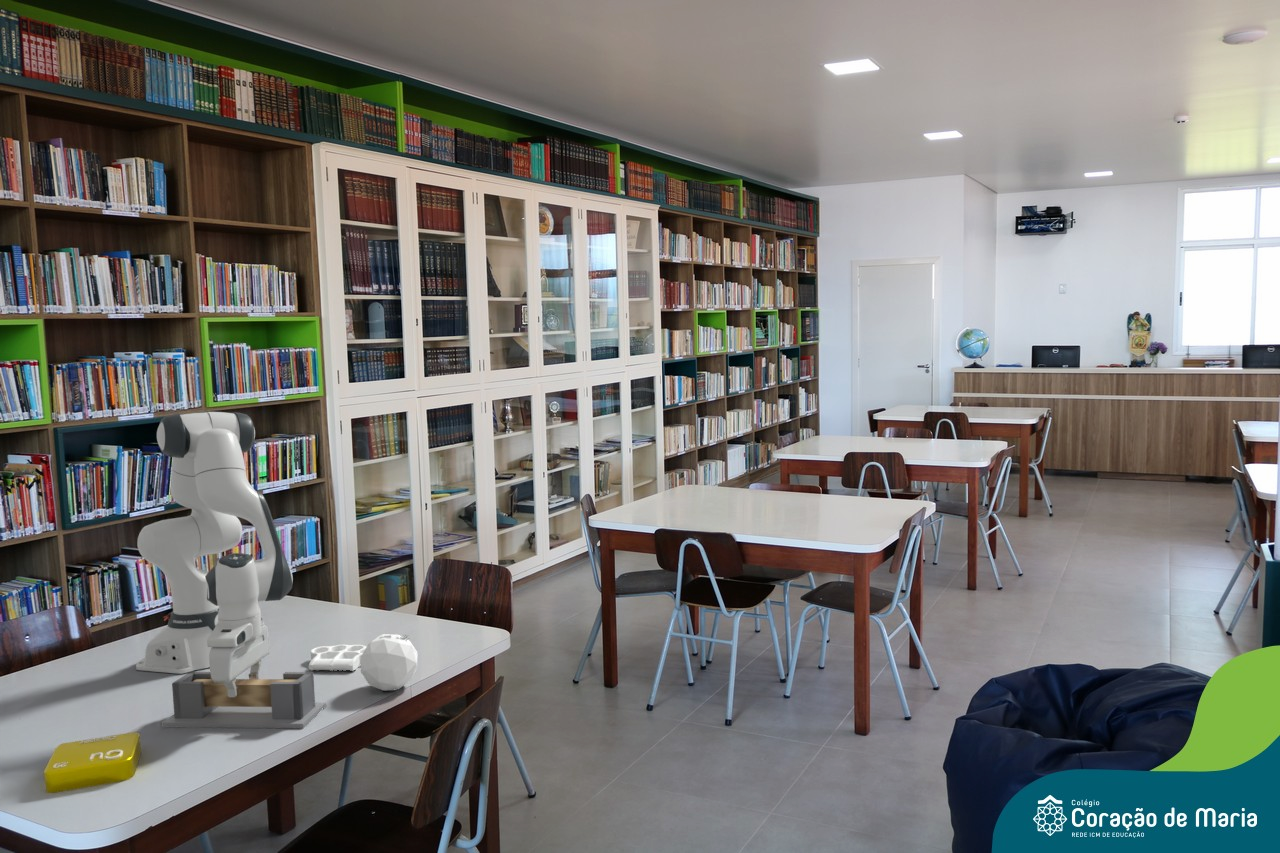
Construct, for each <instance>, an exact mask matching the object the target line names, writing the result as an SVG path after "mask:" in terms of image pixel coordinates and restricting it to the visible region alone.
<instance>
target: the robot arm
mask: <svg viewBox="0 0 1280 853" xmlns="http://www.w3.org/2000/svg"><path fill="white" fill-rule="evenodd" d="M255 429H256V428H255V425H254V422H253V420H252V418H251V417H250V416H249V415H248V414H246V413H243V412H242V413H241V412H223V411H205V412H193V413H184V414H179V413H173V414H170V415H166V416H164V417H162V419H161V420H160V422H159V425H158V427H157V430H156V441H157V443H158V446H159V449H160V451H161V452H162V453H163V454H164V455H165V456H167V457H171V458H172V463H171V479H170V495H171V497H172V500H174V502H176V504H178V505H180V506H183V507H184V508H188V509H190V510H191V513H190V515H187V516H181V517H175V518H167V519H161V520H159V521H155V522H153V523H149V524H147V525H144V527H142V528H141V530H140V531H139V534H138V536H137V542H136V543H137V549H138V552H139V554H140V555H141V557H142V558H143V559H144V560H145V561H146V562H148V563H151V564H153V565H154V566H156V567H157V568H158V569H159V570H160V571H161V572H162V573H163V575H164V576H165V577H166V579H167V581H168V583H169V587H170V594H171V600H172V611H171V612H169V613H167V615H165V616H163V618H164V619H163V621H164V622H166V621H167V620H168V622H167V626H165V627H164V628H163V629H162V630H161V631H160V632H159V633H158V634H156V635H155V636H154V637H153V638H152V639H150V640H149V641H148V643H147V644H146V648H145V654H144V658H142V659H140V660H139V661H138V662H137V663H136V665H135V670H136V671H143V672H144V671H145V672H157V673H168V674H169V673H170V674H179V675H180V674H188V673H189V672H195V671H198V670H204V669H208V668H209V672H210V673H211V678H212V680H213V681H214V682H215V683H224V685H225V687H226V689H227V692H228V697H235V696H237V695H238V694H239V691H238V690H239V688H238V687H236V685H235V682H236V679H237V677H238V676H240V675H241V674H242V673H244V672H245V671H247V670H249V669H250V672H249V673H248V679H260V670H261V667H262V660H263V659H264V658H266V657H267V656H268V655H269V654H270V651H271V642H270V641H271V640H270V634H269V629H268V626H267V625H266V624H265V620H264V619H263V618H262V615H261V611H262V610H261V608H260V605H259V602H263V601H265V602H273V601H276V602H277V601H281V600H283V599H284V598H285V597H286V596H287V595H288V594H289V593H290V591H291V590H292V589H293V583H294V582H293V580H294V578H293V573H292V569H291V567H290V565H289V563H288V559H287V557H286V554H285V553H284V551H283V550H284V549H283V547H282V543H281V541H280V538H279V534H278V531H277V528H276V525H275V522H274V519H273V516H272V513H271V509H270V508H269V505H268V502H267V500H266V498H265V496H264V495H263V493H262V492H260V491H258V490H255V488H254V487H252V484H251V483H250V482H249V480H248V477H247V471H246V463H245V459H244V455H243V454H245V453H247V452H248V451H250V450H251V449H252V448H253V446H254V444H255V437H256V430H255ZM239 518H241V519H243V520H246V521H248V522H249V523H250V524H251V525H253V527H254V528H255V532H256V534H257V537H258V541H259V543H260V546H261V550H262V553H263V557H262V558H260V559H254V557H253V556H252V555H251V554H247V553H242V552H233V553H229V554H228V553H227V554H226V555H223V556H221V557H220V558H219V559H218V560H217V561H216V565H214V566H213V567H212V568H211V569H210V570H209V571H207V570H205V569H201V568H197V567H196V565H195V558H199V557H205V556H210V555H211V556H212V555H215V554H216V555H217V554H221V553H223V552H226V551H229V550H231V549H233V548H236V547H237V546H238V545H239V544H240V542H241V540H242V537H243V527H242V526H243V525H242V523H241V521H240V519H239Z"/></svg>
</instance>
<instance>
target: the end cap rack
mask: <svg viewBox="0 0 1280 853" xmlns="http://www.w3.org/2000/svg"><path fill="white" fill-rule="evenodd" d="M196 679H212V678H211V673H210V671H190V672H187V673H185V675H183V676H181V677H180V678H179V679H177V680H175V681H173V682H171V687H172V688H171V689H172V690H171V691H172V699H173V700H172V702H173V704H172V705H173V715H171V716H169V717H168V718H166V719H165V720H164V721H162V723H161V724H162V725H161V726H162V728H228V729H229V728H233V729H234V728H239V729H250V728H251V729H304V728H305V727H307V725H309V724H310V723H311V722H312V721H313V720H314V719H315V718H316V717H317V716H318V715H319V714H320V713H321V712H322V711H323V710H322V708H324V707H325V706H326V707H327V703H326V702H316V697H315V696H316V695H315V681H314V680H315V679H314V671H302V672H301V671H285V672H284V673H282V679H298V680H297V681H295V682H272V683H271V684H270V688H271V704H272V707H212V706H205V701H204V687H203V682H193V681H194V680H196ZM326 707H325V708H326ZM325 708H324V709H325ZM321 710H322V711H321ZM320 711H321V712H320ZM319 712H320V713H319ZM318 713H319V714H318ZM317 714H318V715H317ZM316 715H317V716H316ZM315 716H316V717H315ZM314 717H315V718H314ZM313 718H314V719H313ZM312 719H313V720H312ZM311 720H312V721H311ZM310 721H311V722H310ZM309 722H310V723H309Z"/></svg>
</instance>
